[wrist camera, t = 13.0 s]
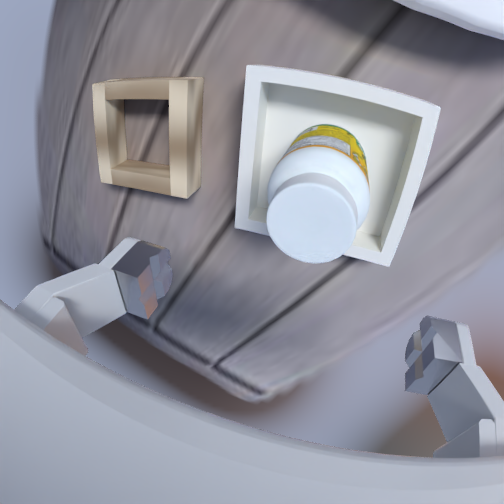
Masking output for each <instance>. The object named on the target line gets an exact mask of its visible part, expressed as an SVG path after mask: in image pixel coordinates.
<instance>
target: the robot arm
mask: <svg viewBox="0 0 504 504" xmlns="http://www.w3.org/2000/svg"><path fill="white" fill-rule="evenodd" d="M170 259H171V257H170V251H169V250H168V249H167V248H165V247H161V246H158V245H155V244H152V243H149V242H145V241H142V240H138V239H135V238H132V237H128V238H125V239H124V240H123V241H122V242H121V243H120V244H119V245H118V246H117V247H116V248H115V249H114V250H113V251H112V252H111V253H109V254H108V255H107V256H106V257H105V258H104V259H103V260H102V261H101V262H100V263H99V264H92V265H89V266H87V267H84V268H81V269H79V270H76V271H73V272H71V273H68V274H65V275H63V276H60V277H58V278H55V279H52V280H50V281H47V282H45V283H42V284H40V285H37V286H36V287H35V288H34V289H33V290H32V291H31V292H30V293H29V294H28V295H27V296H26V298H25V299H24V300H23V301H22V302H21V303H20V304H19V305H18V306H17V307H16V308H15V310H13V309H12V308H11V307H10V306H8V305H7V304H6V303H4V302H3V301H2V300H0V504H504V402H503V400H502V399H501V397H500V395H499V394H498V392H497V391H496V389H495V388H494V386H493V385H492V384H491V382H490V380H489V379H488V378H487V376H486V375H485V373H484V372H483V370H482V369H481V367H480V366H476V361H475V356H474V350H473V345H472V340H471V336H470V332H469V327H468V326H467V324H464V323H460V322H455V321H449V320H445V319H440V318H435V317H431V316H426V317H424V318H423V319H422V321H421V322H420V330H418V331H416V332H414V333H413V334H412V337H411V338H410V339H409V342H408V344H407V347H406V353H405V362H406V363H407V365H408V366H409V369H408V371H407V372H406V373H405V391H408V392H413V393H419V394H424V395H428V396H427V397H428V399H429V402H430V404H431V406H432V408H433V410H434V412H435V415H436V417H437V419H438V422H439V424H440V426H441V429H442V431H443V434H444V436H445V438H446V441H447V443H446V444H444V445H443V446H441V447H439V448H438V449H437V450H435V451H434V452H433V458H430V457H411V456H399V455H388V454H379V453H371V452H364V451H357V450H350V449H344V448H338V447H333V446H327V445H322V444H317V443H313V442H308V441H303V440H299V439H295V438H291V437H286V436H283V435H278V434H275V433H271V432H267V431H264V430H261V429H257V428H254V427H250V426H247V425H244V424H241V423H237V422H234V421H231V420H228V419H225V418H222V417H219V416H216V415H214V414H211V413H208V412H205V411H203V410H200V409H197V408H195V407H192V406H189V405H187V404H184V403H182V402H179V401H177V400H174V399H172V398H169V397H167V396H165V395H163V394H160V393H158V392H156V391H153V390H151V389H149V388H147V387H145V386H142V385H140V384H138V383H136V382H134V381H132V380H130V379H128V378H125V377H124V376H122V375H120V374H118V373H116V372H114V371H112V370H110V369H108V368H106V367H104V366H102V365H101V364H99V363H97V362H95V361H93V360H91V359H90V358H88V357H86V355H87V353H88V348H87V346H86V344H85V343H84V341H83V339H82V338H83V337H85V336H87V335H89V334H90V333H92V332H94V331H96V330H97V329H99V328H101V327H103V326H104V325H106V324H108V323H109V322H111V321H113V320H115V319H117V318H119V317H120V316H122V315H124V314H126V312H129V313H131V314H134V315H137V316H139V317H142V318H145V319H149V317H150V316H151V315H152V313H153V312H154V310H155V309H156V308H157V306H158V302H157V299H159V298H162V297H164V296H165V295H166V294H167V292H168V291H169V288H170V286H171V283H172V276H173V274H172V269H171V267H170V266H169V265H168V261H169V260H170Z"/></svg>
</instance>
